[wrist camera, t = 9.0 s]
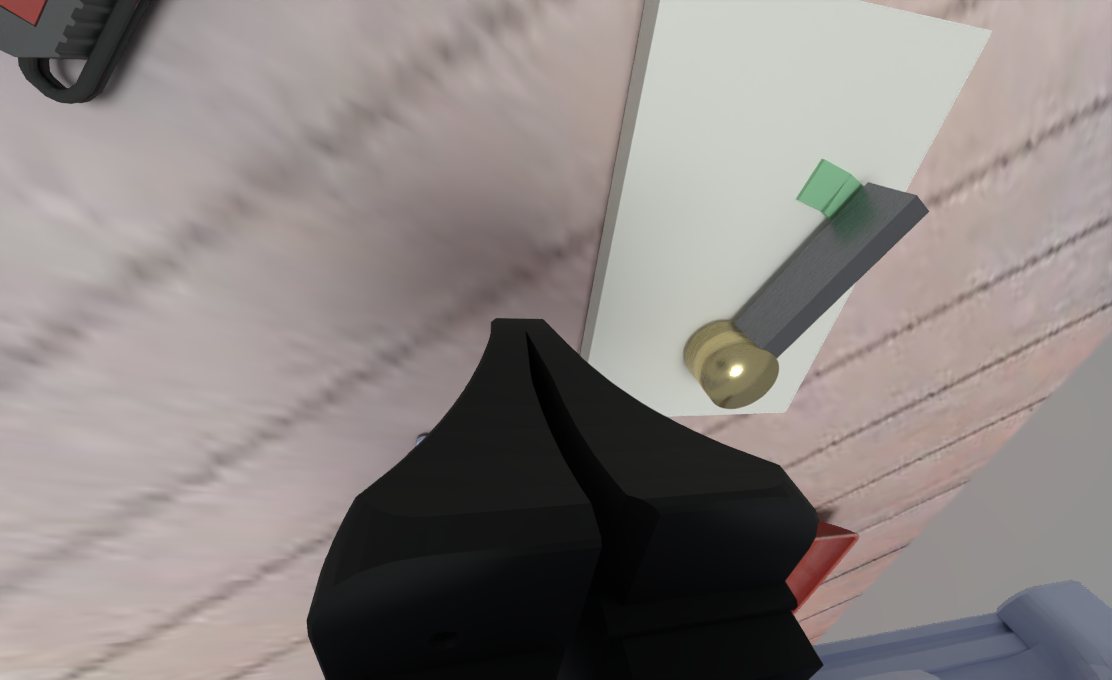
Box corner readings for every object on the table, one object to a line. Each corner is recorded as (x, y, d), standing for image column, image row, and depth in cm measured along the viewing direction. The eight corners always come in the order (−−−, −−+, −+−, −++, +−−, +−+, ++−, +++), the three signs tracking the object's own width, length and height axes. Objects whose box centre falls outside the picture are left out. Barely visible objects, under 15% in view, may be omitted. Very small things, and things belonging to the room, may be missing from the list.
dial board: (771, 397, 28) (787, 414, 27) (571, 402, 25) (577, 422, 24) (955, 33, 18) (998, 30, 16) (651, -34, 15) (671, -45, 13)
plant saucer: (611, 625, 43) (621, 662, 41) (653, 517, 34) (670, 556, 31) (760, 602, 47) (779, 634, 45) (835, 500, 38) (864, 533, 35)
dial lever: (714, 385, 24) (740, 417, 22) (671, 361, 22) (694, 394, 20) (888, 209, 20) (943, 227, 17) (851, 165, 18) (905, 178, 16)
